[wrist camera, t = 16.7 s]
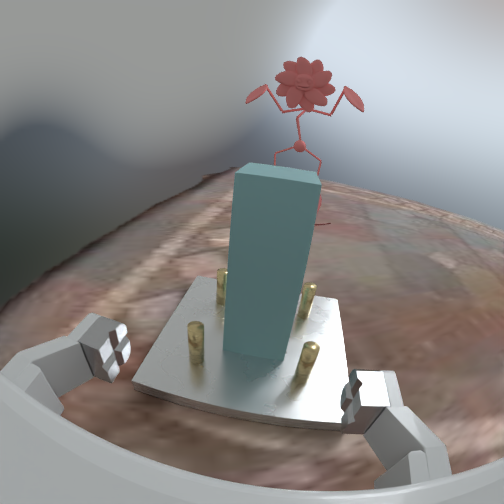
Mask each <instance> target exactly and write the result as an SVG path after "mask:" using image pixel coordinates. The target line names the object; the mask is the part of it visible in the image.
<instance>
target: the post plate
mask: <svg viewBox="0 0 504 504" xmlns="http://www.w3.org/2000/svg"><path fill="white" fill-rule="evenodd" d="M226 283H227V269H226V268H220V269H218V270H217V279H212V278H207V277H202V276H197V277H196V279H195V280H194V282H193V284H192V285H191V287H190V288H189V290H188V291H187V293H186V294H185V296H184V297H183V299H182V300H181V302H180V304H179V305H178V307H177V308H176V310H175V311H174V313H173V314H172V316H171V318H170V319H169V321H168V322H167V324H166V326H165V327H164V329H163V330H162V332H161V333H160V335H159V337H158V338H157V340H156V341H155V343H154V345H153V346H152V348H151V350H150V351H149V353H148V354H147V356H146V358H145V359H144V361H143V363H142V364H141V366H140V367H139V369H138V371H137V372H136V374H135V376H134V377H133V379H132V383H133V386H134V389H135V390H137V391H140V392H142V393H145V394H148V395H151V396H154V397H157V398H160V399H163V400H167V401H170V402H173V403H177V404H180V405H183V406H187V407H191V408H194V409H198V410H202V411H206V412H210V413H215V414H219V415H223V416H228V417H233V418H238V419H243V420H248V421H254V422H260V423H267V424H273V425H281V426H289V427H298V428H308V429H321V430H339V431H341V417H342V416H343V414H344V412H343V411H342V410H341V408H340V397H341V393H342V389H343V387H344V385H345V384H346V383H347V382H348V373H347V365H346V356H345V348H344V341H343V334H342V327H341V320H340V314H339V307H338V301H337V299H333V298H326V297H320V296H315V292H316V288H317V286H316V285H315V284H314V283H311V282H307V283H305V284H304V288H303V292H302V294H300V296H299V301H298V305H297V309H296V313H295V318H294V322H293V326H292V330H291V334H290V338H289V342H288V346H287V349H286V353H285V357H284V361H280V360H274V359H268V358H262V357H256V356H251V355H245V354H240V353H235V352H230V351H225V350H223V334H224V316H225V299H226Z"/></svg>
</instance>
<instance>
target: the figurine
mask: <svg viewBox="0 0 504 504" xmlns="http://www.w3.org/2000/svg"><path fill="white" fill-rule="evenodd" d="M283 65H284V69H285V70H286V71H284V72H281V73H279V74H278V75H276V77H275V80H276V81H278V82H279V83H281V84H280V85H279V87H278V88H277V90H276V94H277V95H278V96H286V102H287V106H288V107H289V108H295V107H296V106H297V105H298V104H299V105H300V106H301V107H302V108H299V109H292V110H286V111H283V110H282V108H281V106H280V105H279V103H278V102H277V100H276V99H275V97H274V96H273V94H272V93H271V91H270V90H269V89H268V85H266V84H265V85H263V86H260V87H259V88H257V89H255V90H254V91H253V92H251V93H250V95H249V96H248V97H247V99H246V104H247V103H249V102H251V101H253V100H255V99H257V98H258V97H260V96H261V95H262V94H263V93H264V92H265V91H266V89H267V91H268V92H269V94H270V95H271V97H272V98H273V100H274V101H275V103H276V104H277V106H278V108H279V109H280V111H282V113H286V112H293V111H300V110H304V111H303V112H301V113H300V114H299V115H298V116H297V118H296V122H297V128H298V134H299V140H298V141H296V142H295V144H294V147H290V148H288V149H284V150H281V151H278V152H275V154H274V166H275V164H276V154H277V153H280V152H283V151H286V150H289V149H292V148H294V149H295V150H296V151H297V152H303V151H304V150H306V151H307V152H308V153H310V154H311V155H312V156H314V157H315V158H316V159H318V160H319V161H320V164H319V168H318V172H317V175H319V170H320V167H321V160H320V159H319V158H318V157H316V156H315V155H314V154H312V153H311V152H310V151H308V150H307V149H306V144H305V142H303V141H301V134H300V126H299V117H300V116H301V115H302V114H303V113H304V112H305V111H306V112H311V111H313V112H317V113H321V114H324V115H328V116H331V114H333V113H334V111H335V109H336V107H337V105H338V104H339V102H340V100H341V98H342V96H343V94H345V96H346V98H347V100H348V101H349V102H350V103H351V104H352V105H353V106H355V107H356V108H357V109H359V110H360V111H361V112H364V104H363V102H362V100H361V98H360V97H359V96H358V95H357V94H356V93H355V92H354V91H353V90H352V89H350V88H348V87H346V86H344V89H343V91H342V93H341V95H340V97H339V99H338V100H337V102H336V104H335V106H334V108H333V110H332V111H331V113H330V114H328V113H325V112H321V111H317V110H314V104H315V105H318V106H325V105H327V98H326V97H325V96H328V95H331V94H332V93H334V91H335V87H334V86H332V85H331V84H329V81H330V80H331V77H332V73H331V72H330V71H323V64H322V62H321V61H320V60H315V61H313V62H312V63H311V64H310V63H309V61H308V60H307V59H305V58H303V57H299V58H298V59H297V63H296V62H292V61H287V62H284V64H283ZM321 200H322V199H321V195H320V197H319V203H318V209H317V213H318V211H319V208H320V206H321ZM327 224H331V223H327ZM318 225H325V224H315V225H314V226H318Z"/></svg>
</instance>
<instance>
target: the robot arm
mask: <svg viewBox="0 0 504 504" xmlns="http://www.w3.org/2000/svg"><path fill="white" fill-rule="evenodd" d="M126 333H127V329H126V325H124V324H123V323H120V322H117V321H114V320H111V319H109V318H106V317H103V316H100V315H97V314H95V313H90V314H88V315H87V316H86V317H85V318H84V319H83V320H82V321H81V322H80V323H79V325H78V326H77V327H76V328H75V329H74V330H73V331H72V332H71V333H70V334H69V335H68V336H67V337H66V336H62V337H60V338H57V339H54V340H51V341H48V342H46V343H43V344H40V345H37V346H34V347H32V348H29V349H26V350H23V351H20V352H18V353H17V354H16V355H15V356H14V357H13V358H12V359H11V360H10V361H9V363H8V364H7V365H6V366H5V367H4V368H3V369H2V370H1V371H0V504H504V457H503V458H501V459H498V460H496V461H493V462H491V463H488V464H486V465H483V466H480V467H477V468H474V469H471V470H468V471H465V472H461V473H458V474H454V475H452V473H451V468H450V463H449V458H448V454H447V449H446V445H445V444H444V443H443V442H442V441H441V440H440V439H439V438H438V437H437V436H436V435H435V434H434V433H433V432H432V431H431V430H430V429H429V428H428V427H427V426H426V425H425V424H424V423H423V422H422V421H421V420H420V419H419V418H418V417H417V416H416V415H415V414H414V413H413V412H412V411H411V410H410V409H409V408H408V407H407V406H404V405H403V401H402V397H401V393H400V389H399V385H398V382H397V378H396V374H395V372H394V371H383V370H381V371H380V370H364V369H354V370H353V371H352V372H351V374H350V376H349V377H350V381H349V382H347V383H346V384H345V385H344V387H343V389H342V393H341V397H340V408H341V410H342V411H343V412H344V414H343V416H342V417H341V433H342V434H364V435H363V436H364V437H365V439H366V440H367V442H368V443H369V445H370V446H371V448H372V449H373V451H374V452H375V454H376V455H377V457H378V458H379V460H380V461H381V463H382V464H383V466H384V467H385V469H386V470H387V471H386V472H385V473H384V474H382V475H381V476H380V477H378V478H377V479H376V480H375V481H374V487H375V489H371V490H357V491H301V490H287V489H276V488H267V487H260V486H253V485H246V484H241V483H235V482H230V481H225V480H220V479H216V478H211V477H207V476H203V475H199V474H195V473H192V472H188V471H185V470H181V469H178V468H175V467H172V466H169V465H166V464H163V463H160V462H157V461H154V460H151V459H148V458H146V457H143V456H141V455H138V454H136V453H133V452H131V451H128V450H126V449H124V448H121V447H119V446H117V445H115V444H112V443H110V442H108V441H106V440H104V439H102V438H100V437H98V436H96V435H94V434H92V433H90V432H88V431H86V430H84V429H82V428H81V427H79V426H77V425H75V424H73V423H72V422H70V421H68V420H66V419H65V418H63V417H61V416H60V415H61V413H62V412H63V410H64V407H63V405H62V404H61V402H60V400H59V399H58V397H60V396H62V395H64V394H65V393H67V392H69V391H71V390H72V389H74V388H76V387H78V386H79V385H81V384H83V383H85V382H86V381H88V380H90V379H92V378H93V376H94V377H97V378H99V379H101V380H104V381H107V382H109V383H112V382H113V381H114V379H115V377H116V376H117V374H118V373H119V366H120V365H122V364H124V363H125V362H126V361H127V359H128V357H129V354H130V341H129V340H128V338H127V337H126V336H125V334H126Z"/></svg>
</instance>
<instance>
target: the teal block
mask: <svg viewBox="0 0 504 504" xmlns="http://www.w3.org/2000/svg"><path fill="white" fill-rule="evenodd" d="M321 186H322V185H321V182H320V180H319V178H318V175H317V173H316V172H312V171H306V170H300V169H294V168H287V167H280V166H273V165H265V164H257V163H248V164H247V165H245V166H244V167H242V168H241V169H239V170H238V171H237V172H235V179H234V191H233V203H232V215H231V227H230V241H229V254H228V269H227V283H226V299H225V316H224V334H223V350H225V351H230V352H235V353H240V354H245V355H251V356H256V357H262V358H268V359H274V360H280V361H284V357H285V353H286V349H287V346H288V342H289V338H290V334H291V330H292V326H293V322H294V318H295V313H296V309H297V305H298V301H299V296H300V292H301V288H302V283H303V278H304V274H305V269H306V265H307V260H308V255H309V250H310V245H311V240H312V235H313V230H314V225H315V219H316V214H317V209H318V203H319V197H320V191H321Z"/></svg>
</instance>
